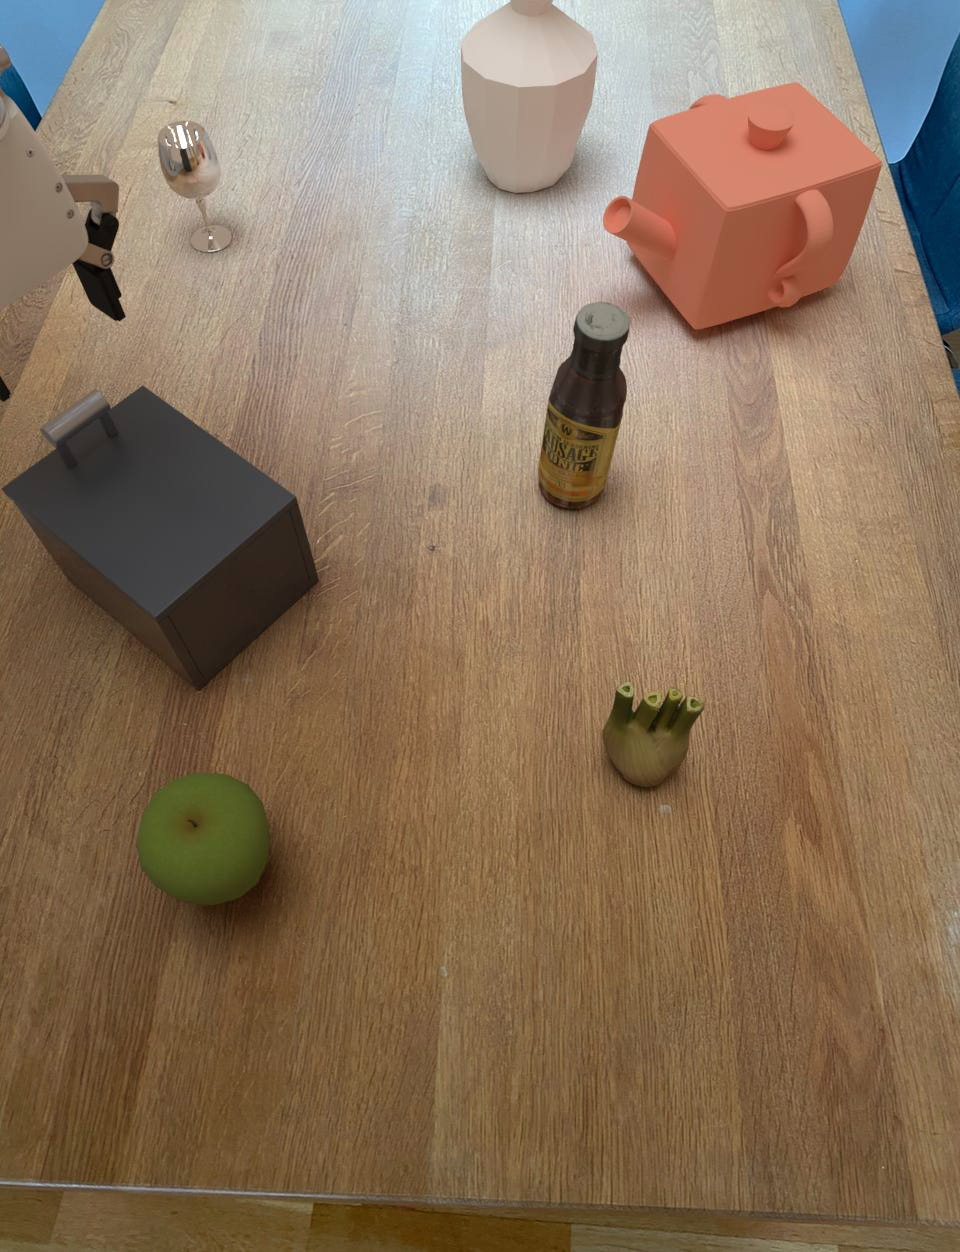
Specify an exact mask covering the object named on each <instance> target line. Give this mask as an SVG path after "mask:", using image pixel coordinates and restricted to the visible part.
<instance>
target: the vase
mask: <svg viewBox="0 0 960 1252" xmlns="http://www.w3.org/2000/svg"><path fill="white" fill-rule="evenodd" d="M553 1H554V0H509V2H507V3H505V4H504V5H502V6H501V7H499V8H498V9H496V10H494V11H493V12H491V13H489V14H488V15H487V16H484V17H483V18H482V19H480V20H478V21H477V22H475V23H474V24H473V25H472V27H471V28H470V29H469V30H468V31H467V32H466V34H465V35H464V37H462V39H461V40H460V75H461V76H460V77H461V97H462V104H463V113H464V118H465V121H466V125H467V128H468V133H469V135H470V139H471V143H472V147H473V150H474V153H475V155H476V156H477V158H478V160H479V162H480V164H481V167H482V168H483V170H484V173H485V174H486V176H487V179H488V181H489V182H490V183H491V184H493V185H494V186H495V187H496V188H497V189H499V190H502V191H504V192H505V191H507V192H510V193H513V194H523V193H534V192H536V191H540V190H543V189H546V188H550V187H553V186H555V184H556V183H557V182H558V181H559V180H560V178H561V177H562V176H563V175H564V174H565V173H566V171H568V169H569V168H570V167H571V165H572V162H573V160H574V157H575V155H576V150H577V145H578V142H579V139H580V137H581V135H582V131H583V129H584V126H585V123H586V122H587V121H586V120H587V118H588V116H589V113H590V110H591V107H592V104H593V98H594V91H595V84H596V76H597V75H596V74H597V66H598V58H599V53H598V49H597V45H596V42H595V39H594V35H593V33H592V32H591V31H589V30H588V29H586V28H585V27H584V26H582V25H581V24H580V23H578V22H577V21H576V20H574V19H573V18H572V17H570V16H569V15H567V14H566V13H565V12H564V11H563V10H561V9H560V8H559V7H558V6H556V5H554V3H553Z"/></svg>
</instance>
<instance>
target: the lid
mask: <svg viewBox="0 0 960 1252" xmlns="http://www.w3.org/2000/svg"><path fill="white" fill-rule="evenodd" d="M39 430H40V432H41V434H42V436H43V437H44V438H45V439H46V440H47V442H48V443H49V444H50V445H52V447H54V448H55V449H53V450H52V451H50V452H49V453H47V454H46V455H45V456H44V457H42V458H41V459H40V460H38V461H36V462H35V463H34V464H33V465H31V466H30V467H28V468H27V469H26V470H24V471H23V472H21V473H20V474H19V475H18V476H16V477H14V478H13V479H12V480H11V481H9V482H8V483H7V484H5V485H4V486H2V487H1V491H2V492H3V493H4V495H5V496H6V497H7V498H8V499H10V500H11V501H12V502H13V503H14V502H15V503H16V504H17V505H18V506H20V507H21V508H22V509H23V510H24V511H25V512H27V513H28V514H29V515H30V516H31V517H33V518H34V519H35V520H36V521H37V522H39V523H40V524H41V525H42V526H43V527H44V528H46V529H47V530H48V531H49V532H50V533H52V534H53V535H54V536H55V537H56V538H58V539H59V540H60V541H61V542H62V543H63V544H65V545H66V546H67V547H68V548H69V549H71V550H72V551H73V552H74V553H75V554H77V555H78V556H79V557H80V558H81V559H82V560H84V561H85V562H86V563H87V564H88V565H90V566H91V567H92V568H93V569H94V570H96V571H97V572H98V573H99V574H100V575H102V576H103V577H104V578H105V579H106V580H107V581H109V582H110V583H111V584H112V585H113V586H115V587H116V588H117V589H118V590H119V591H121V592H122V593H123V594H124V595H125V596H126V597H128V598H129V599H130V600H131V601H132V602H134V603H135V604H136V605H137V606H138V607H140V608H141V609H142V610H143V611H144V612H145V613H147V614H148V615H149V616H150V617H151V618H153V619H154V620H155V621H156V622H160V621H161V620H162V619H163V618H164V617H166V616H167V615H168V614H169V613H170V612H171V611H173V610H174V609H175V608H176V607H177V606H178V605H180V604H181V603H182V602H183V601H184V600H185V599H187V598H188V597H189V596H190V595H191V594H192V593H193V592H195V591H196V590H197V589H198V588H199V587H200V586H202V585H203V584H204V583H205V582H206V581H207V580H209V579H210V578H211V577H212V576H213V575H214V574H216V573H217V572H218V571H219V570H220V569H221V568H223V567H224V566H225V565H226V564H227V563H228V562H229V561H231V560H232V559H233V558H234V557H235V556H236V555H238V554H239V553H240V552H241V551H242V550H243V549H245V548H246V547H247V546H248V545H249V544H250V543H252V542H253V541H254V540H255V539H256V538H257V537H259V536H260V535H261V534H262V533H263V532H264V531H265V530H267V529H268V528H269V527H270V526H271V525H272V524H274V523H275V522H276V521H277V520H278V519H279V518H281V517H282V516H283V515H284V514H285V513H286V512H288V511H289V510H290V509H291V508H292V507H293V506H295V505H296V504H297V503H298V504H299V502H298V498H297V496H296V495H295V494H293V493H292V492H291V491H289V490H288V489H286V488H285V487H284V486H282V485H281V484H280V483H279V482H277V481H276V480H274V479H273V478H272V477H270V476H269V475H267V474H266V473H265V472H263V471H262V470H260V469H259V468H257V467H256V466H255V465H253V464H252V463H251V462H250V461H248V460H246V459H245V458H244V457H243V456H241V455H240V454H238V453H237V452H236V451H234V450H233V449H231V448H230V447H229V446H227V445H226V444H225V443H223V442H222V441H220V440H219V439H218V438H216V437H215V436H213V435H212V434H211V433H209V432H208V431H207V430H205V429H204V428H203V427H201V426H200V425H198V424H197V423H195V422H194V421H193V420H192V419H190V418H189V417H187V416H185V414H183V413H182V412H180V411H179V410H178V409H177V408H175V407H173V406H172V405H171V404H169V403H168V402H167V401H165V400H164V399H162V398H161V397H160V396H159V395H157V394H155V393H154V392H153V391H152V390H150V389H148V387H146V386H144V385H141V386H139V387H138V388H137V389H135V390H133V392H132V393H130V394H129V395H127V396H126V397H125V398H123V399H121V401H119V402H118V403H116V404H115V405H113V406H112V407H111V404H110V403H109V401H108V400H107V398H106V397H105V396H104V394H102V393H101V392H100V390H98V389H95V388H93V389H92V390H91V391H90V392H88V393H87V394H85V395H84V396H82V397H81V398H79V399H78V400H76V401H75V402H74V403H72V404H71V405H70V406H68V407H67V408H65V409H64V410H63V411H61V412H60V413H58V414H57V415H56V416H54V417H53V418H52V419H50V420H48V421H47V422H46V423H44V424H43V425H42V426H40V427H39ZM15 503H14V504H15Z"/></svg>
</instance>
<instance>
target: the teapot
mask: <svg viewBox="0 0 960 1252" xmlns="http://www.w3.org/2000/svg"><path fill="white" fill-rule="evenodd" d="M882 166H883V162H882V159H880V158H879V157H878V156H877V155H876V154H875V153H874V152H873V151H872V150H871V149H870V148H869V147H868V146H867V145H866V144H865V143H864V142H863V141H862V140H861V139H860V138H859V137H858V136H857V135H856V134H854V132H853V131H851V130H850V129H849V127H847V125H845V124H844V123H843V122H842V121H841V120H840V119H839V118H838V117H837V116H836V115H835V114H834V113H833V112H831V110H830V109H829V108H827V107H826V106H825V105H824V104H823V103H822V102H820V101H819V100H818V99H817V98H816V97H815V96H814V95H813V94H812V93H810V91H808V90H807V89H806V88H805V87H804V86H803V85H801V83H800V82H798V81H797V82H796V81H795V82H788V83H783V84H781V85H779V84H778V85H775V86H771V87H767V88H764V89H759V90H755V91H750V92H746V93H744V94H739V95H735V96H732V97H728V98H727V97H726V96H725V95H721V94H717V93H716V94H714V93H713V94H707V95H704V96H702V97H699V98H698V99H696V100H695V101H693V103H692V104H691V105H690V107H689V108H688V109H686V110H683V111H679V112H676V113H674V114H671V115H668V116H664V117H662V118H659V119H656V120H654V121H652V122H651V123H650V124H649V126H648V129H647V133H646V136H645V141H644V144H643V149H642V152H641V157H640V161H639V164H638V168H637V172H636V178H635V181H634V185H633V191H632V197H631V198H630V197H628V196H625V195H619V196H616V197H615V198H613V199H612V200H611V201H610V202H609V203H608V205H607V206H606V207H605V210H604V213H603V217H602V225H603V228H604V230H605V231H606V232H607V233H609V234H611V235H613V236H614V237H617V238H619V239H621V240H623V241H626V244H627V246H628V248H629V249H630V251H631V252H632V253H633V254H634V256H635V257H636V259H637V260H638V261H639V262H640V264H641V265H642V267H643V268H644V269H645V270H646V272H647V273H648V274H649V276H650V277H651V278H652V279H653V281H654V282H655V283H656V284H657V285H658V287H659V288H660V289H661V290H662V292H663V294H665V296H666V297H667V298H668V299H669V301H670V302H671V303H672V304H673V306H674V307H675V308H676V310H678V312H679V313H680V314H681V316H682V317H683V318H684V319H685V320H686V321H687V323H688V324H689V325H690V326H691V327H692V329H693V330H703V329H707V328H710V327H714V326H719V325H720V326H721V325H723V324H726V323H728V322H731V321H735V320H738V319H741V318H744V317H745V318H746V317H748V316H752V315H754V314H757V313H761V312H764V311H767V310H771V309H773V308H776V307H779V308H790V307H792V306H793V305H795V304H797V302H799V300H800V299H801V298H804V297H806V296H807V297H808V296H809V295H812V294H815V293H817V292H820V291H822V290H825V289H828V288H830V287H832V286H834V285H835V284H837V283H838V282H839V281H840V279H841V278H842V276H843V273H844V271H845V270H846V268H847V266H848V264H849V262H850V259H851V258H852V254H853V253H854V251H855V247H856V244H857V242H858V239H859V236H860V234H861V231H862V228H863V225H864V222H865V220H866V217H867V214H868V211H869V207H870V204H871V202H872V199H873V196H874V192H875V189H876V186H877V183H878V180H879V177H880V174H881V170H882V168H883V167H882Z"/></svg>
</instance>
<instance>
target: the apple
mask: <svg viewBox="0 0 960 1252" xmlns="http://www.w3.org/2000/svg"><path fill="white" fill-rule="evenodd" d="M270 830H271V829H270V823H269V820H268V817H267V813H266V809H265V806H264V803H263V801H262V800H261V798H260V797H259V796H258V795H257V794H256V792H255V791H254V790H253V789H252V787H251V786H250V785H249V784H248V783H246V782H244V781H241V780H239V779H238V778H235V777H233V776H232V775H229V774H227V773H226V774H225V773H219V772H218V773H216V772H194V773H191V774H187V775H182V776H181V777H177V778H174V779H172V780H171V781H170V782H168V783H167V784H165V785H163V786H162V787H161V788H159V789H158V790H156V791H155V792H154V794H153V795H152V797H151V799H150V800H149V802H148V803H147V806H146V807H145V809H144V811H143V812H142V815H141V819H140V823H139V827H138V832H137V838H136V848H137V853H138V859H139V864H140V865H139V866H140V869H141V870H142V871H143V873H144V874H145V875H146V876H147V878H148V879H149V881H150V882H151V883H152V884H153V885H154V887H155V888H157V889H159V890H160V891H162V892H163V893H165V894H166V895H169V896H170V897H172V898H174V899H175V900H178V901H180V902H183V903H185V904H190V905H202V906H216V905H220V904H224V903H226V902H230V901H231V902H232V901H235V900H238V899H240V898H241V897H243V896H244V895H245V894H246V893H247V892H249V891H250V890H251V889H252V888H254V887H255V886H257V884H259V881H260V878H261V877H262V875H263V872H264V870H265V868H266V866H267V864H268V861H269V852H270V845H271V831H270Z"/></svg>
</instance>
